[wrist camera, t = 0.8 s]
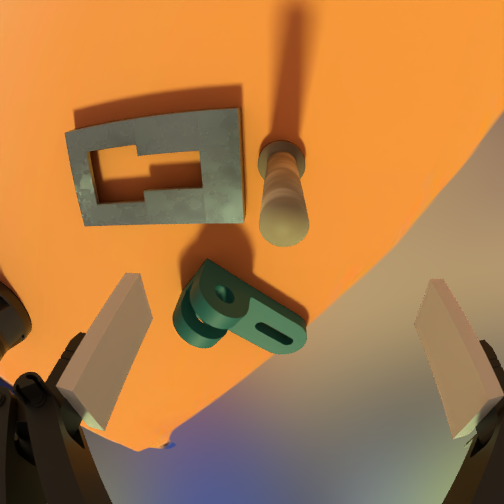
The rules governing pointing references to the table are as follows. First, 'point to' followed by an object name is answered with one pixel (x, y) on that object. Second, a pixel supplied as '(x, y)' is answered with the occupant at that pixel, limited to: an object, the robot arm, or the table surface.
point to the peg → (282, 194)
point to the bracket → (234, 313)
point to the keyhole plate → (167, 141)
